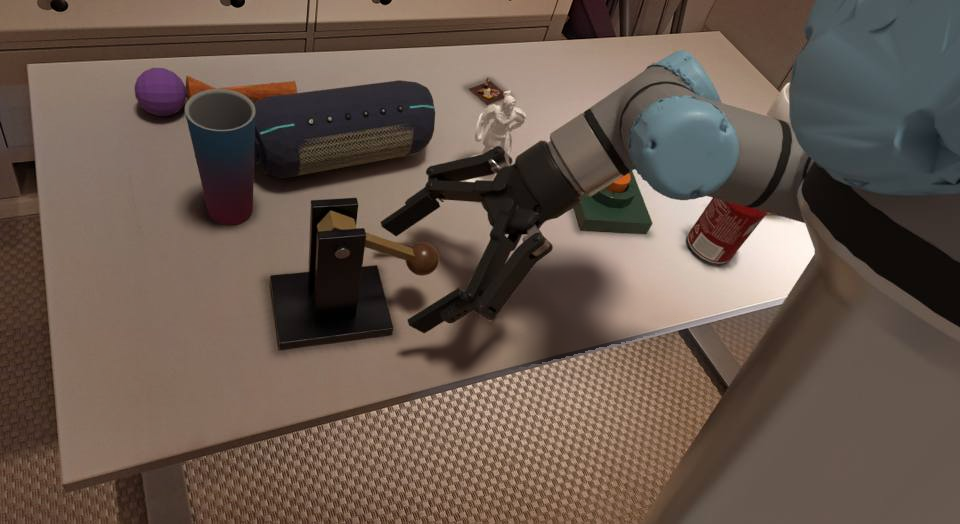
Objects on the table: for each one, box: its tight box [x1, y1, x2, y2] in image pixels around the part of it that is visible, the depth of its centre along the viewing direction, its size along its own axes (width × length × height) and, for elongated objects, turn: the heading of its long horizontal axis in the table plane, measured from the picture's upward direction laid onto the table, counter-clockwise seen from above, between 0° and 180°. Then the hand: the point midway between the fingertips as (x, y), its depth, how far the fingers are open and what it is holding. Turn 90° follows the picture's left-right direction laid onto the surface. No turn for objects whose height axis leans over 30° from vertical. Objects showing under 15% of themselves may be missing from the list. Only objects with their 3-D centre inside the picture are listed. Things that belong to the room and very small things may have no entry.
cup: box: [184, 89, 256, 226], centre depth 73 cm, size 7×7×15 cm
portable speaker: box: [252, 80, 436, 179], centre depth 85 cm, size 25×10×10 cm, turn 118°
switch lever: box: [317, 211, 440, 276], centre depth 67 cm, size 14×4×4 cm
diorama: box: [468, 77, 505, 106], centre depth 105 cm, size 3×4×2 cm
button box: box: [573, 170, 654, 235], centre depth 93 cm, size 12×10×4 cm
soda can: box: [687, 197, 768, 264], centre depth 89 cm, size 7×7×12 cm
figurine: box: [460, 89, 527, 182], centre depth 87 cm, size 9×9×15 cm
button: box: [605, 173, 631, 193], centre depth 91 cm, size 4×4×2 cm
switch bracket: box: [269, 197, 394, 350], centre depth 67 cm, size 12×9×15 cm
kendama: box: [133, 67, 298, 117], centre depth 88 cm, size 6×6×20 cm
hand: (401, 275), depth 72 cm, fingers open, 13 cm apart
